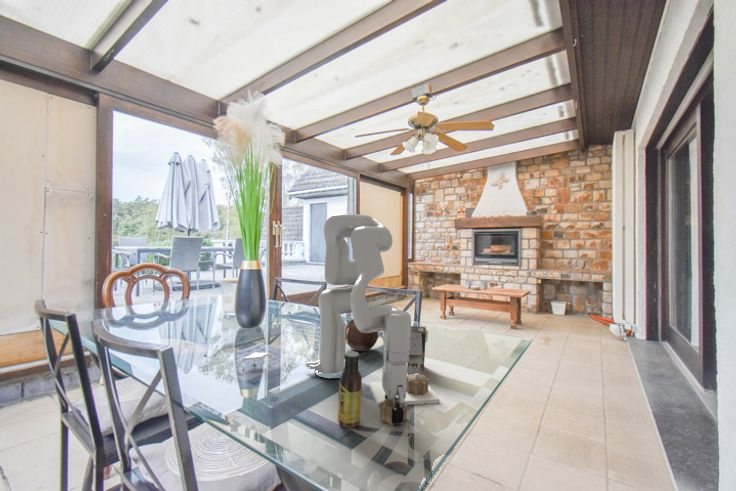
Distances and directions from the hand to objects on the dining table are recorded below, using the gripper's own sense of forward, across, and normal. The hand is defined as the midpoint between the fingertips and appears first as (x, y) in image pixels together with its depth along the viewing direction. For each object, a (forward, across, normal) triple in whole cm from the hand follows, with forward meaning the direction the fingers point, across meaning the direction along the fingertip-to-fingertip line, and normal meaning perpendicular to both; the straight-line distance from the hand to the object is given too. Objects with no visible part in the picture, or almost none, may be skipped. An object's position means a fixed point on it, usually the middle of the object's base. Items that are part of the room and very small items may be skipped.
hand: (393, 414), depth 99 cm
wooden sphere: (+1, -56, 0) cm, 56 cm away
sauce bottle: (+1, +1, -13) cm, 13 cm away
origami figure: (+1, -40, -44) cm, 59 cm away
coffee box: (+1, -33, +18) cm, 38 cm away
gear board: (+1, -14, +7) cm, 16 cm away
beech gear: (+1, 0, 0) cm, 1 cm away
